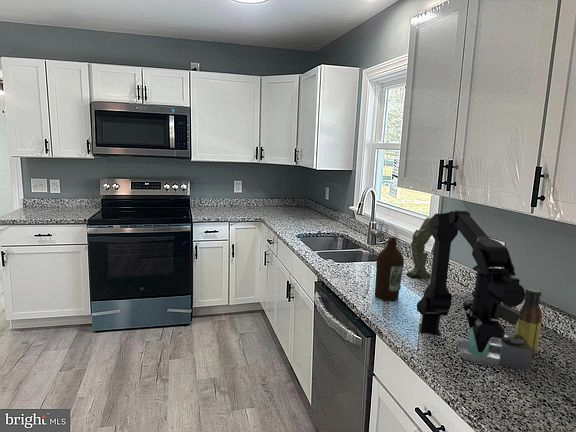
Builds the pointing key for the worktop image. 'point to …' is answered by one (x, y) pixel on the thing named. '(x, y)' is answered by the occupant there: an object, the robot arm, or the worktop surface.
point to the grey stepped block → (502, 352)
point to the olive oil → (389, 272)
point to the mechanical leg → (420, 250)
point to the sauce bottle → (530, 319)
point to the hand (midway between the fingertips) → (478, 347)
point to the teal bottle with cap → (473, 347)
